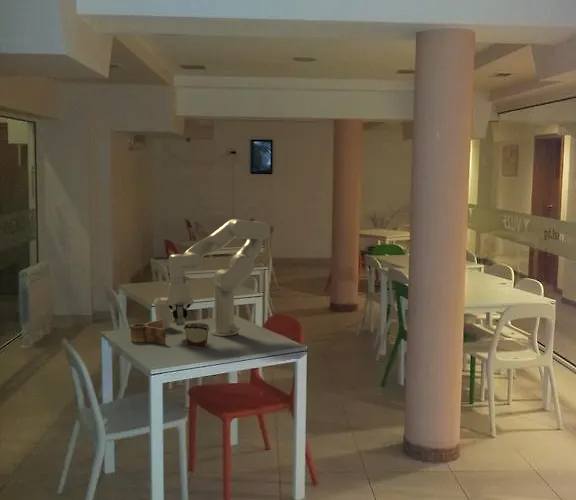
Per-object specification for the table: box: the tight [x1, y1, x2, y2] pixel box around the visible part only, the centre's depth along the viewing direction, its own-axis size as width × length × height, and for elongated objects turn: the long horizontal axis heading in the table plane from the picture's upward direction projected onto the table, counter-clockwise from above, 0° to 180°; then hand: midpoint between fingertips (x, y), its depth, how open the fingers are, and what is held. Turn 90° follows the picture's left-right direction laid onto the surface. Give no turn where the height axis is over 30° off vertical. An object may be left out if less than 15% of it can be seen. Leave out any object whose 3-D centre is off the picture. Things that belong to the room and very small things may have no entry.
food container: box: [183, 322, 210, 349], centre depth 329 cm, size 12×6×10 cm, turn 71°
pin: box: [175, 303, 186, 326], centre depth 344 cm, size 5×5×11 cm
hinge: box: [130, 320, 166, 345], centre depth 342 cm, size 20×20×7 cm
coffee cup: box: [153, 296, 172, 330], centre depth 366 cm, size 10×10×15 cm
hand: (180, 317), depth 344 cm, fingers closed on pin, 4 cm apart
